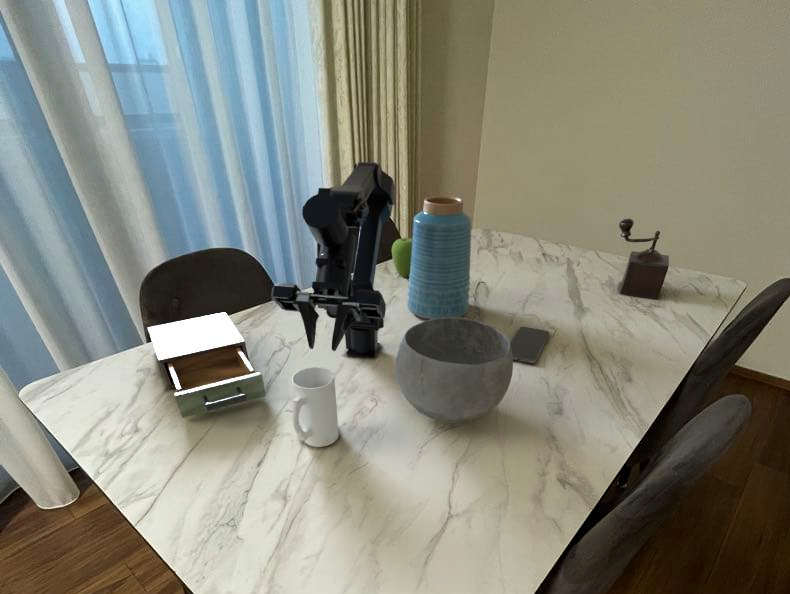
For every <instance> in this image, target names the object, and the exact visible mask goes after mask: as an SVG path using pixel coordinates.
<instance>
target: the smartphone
mask: <svg viewBox="0 0 790 594" xmlns="http://www.w3.org/2000/svg"><path fill="white" fill-rule="evenodd" d="M549 335H550V331H549V330H546V329H540V328H535V327H530V326H524V325H522V326H519V327H518V329H517V331H516V333H515V334H514V336H513V337H512V339H511V341H510V345H511V350H512V355H513V361H517V362H522V363H527V364H535V363H537V360H538V358H539V356H540V354H541V352H542V349H543V348H544V345H545V344H546V341H547V340H548V339H549V338H548V337H549Z"/></svg>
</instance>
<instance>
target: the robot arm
mask: <svg viewBox="0 0 790 594" xmlns="http://www.w3.org/2000/svg"><path fill="white" fill-rule="evenodd" d="M396 201H397V189H396V185H395V182H394V179H393V177H392V176H390V175H389V174H388V173H386V172H385V171H384V170H383V168H382V166H381V164H379V163H377V162H373V161H372V162H370V161H369V162H368V161H359V162H357V163H354V166H353V170H352V172H351V173H350V174H349V176H347V178H346V179H345V181H344V182H343V183H342V184H341V185H336V186H330V187H318V189H317V194H315V195H312V196H311V197H310V198H308V199H307V200H306V202H305V203H304V205H302V210H301V211H302V212H301V213H302V214H301V215H302V218H303V220H304V222H305V224H306V225H307V228H308V229H309V231H310V233H311V235H312V237H313V238H314V241H316V243H317V244H318V245H319V246H320V247H319V254H318V257H316V258H315V262H314V263H315V266H316V267H317V268H316V275H315V279H314V281H312V282H311V288H312V290H313V292H308V291H302V290H301V289H300V288H299V286H298V284H297V283H285V282H283V283H282V282H277V283H275V284H274V286H272V288H271V293H270V299H272V301H274V303H275V304H276V305H277V306H278V307H279V308H280V309H281V310H283V311H285V312H297V313H299V314H300V317H301V319H302V322H303V325H304V332H305V335H306V339H307V343H308V348H309V349H310V350H313V349H314V348H315V343H316V332H317V322H318V320H319V317H320V315H319V313H318V312H317V310H316V307H317V308H318V309H322V310H324V311H326V315H327V317H329V318H331V319H334V325H333V331H332V336H331V337H332V338H331V351H332V352H336V351H337V349H338V347H339V345H340V343H341V342H342V340H343V339H344V340H345V341H344V342H345V349H346V350H347V351H346V354H345V355H346V356H349V357H361V358H372V359H373V358H375V357H376V355H377V352H378V351H379V348H380V346H381V344H380V342H379V335H378V333H379V330H380V329H383V328H384V326H385V318H386V310H387V305H386V301H385V299H384V297H383V294H382V292H380V290H375V289H374V282H375V276H376V270H377V263H378V262H377V261H378V255H379V249H380V243H381V242H380V241H381V237H382V236H381V234H382V228H383V225H384V224H385V223H386V222H387V221H388V220H389V219H390V218H391V216H392V212H393V206H395V205H396ZM349 228H356V229H357V228H358V229H359V234H358V238H356V236H355V234H354V232H353V231H352V230H351V229H349ZM357 239H358V241H356V240H357ZM356 242H357V246H356ZM355 251H356V252H355ZM354 254H355V260H354ZM353 260H354V266H353ZM352 268H353V272H352Z"/></svg>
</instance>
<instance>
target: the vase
mask: <svg viewBox="0 0 790 594" xmlns="http://www.w3.org/2000/svg"><path fill="white" fill-rule="evenodd" d="M412 220H413V221H412V222H413V225H412V236H411V237H412V238H411V239H412V251H411V264H410V265H411V266H410V274H409V276H408V277H409V278H408V286H407V287H408V293H407V302H406V304H407V305H406V306H407V308H408V309H407V310H408V311H409V312H411V313H412V314H413V315H415V316H416V317H418V318H421V319H423V320H426V321H427V320H431V319H434V318H441V317H459V318H461V317H463V316H464V315H466V313H467V312H468V311H469V308H470V301H469V300H470V290H471V289H470V287H471V286H470V285H471V280H470V279H471V274H470V273H471V253H472V252H471V251H472V249H471V248H472V226H473V225H472V223H473V219H472V217H471V216H470V215H469V214H467V213H466V212H465V211H464V200H463V199H462V198H460V197H457V196H449V195H432V196H429V197H425V198H424V200H423V210H421V211H420V212H418V213H417V214H415V215H414V217H413V219H412Z"/></svg>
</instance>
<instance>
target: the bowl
mask: <svg viewBox="0 0 790 594" xmlns="http://www.w3.org/2000/svg"><path fill="white" fill-rule="evenodd" d="M510 343H511V341H510V340H509V338H508V337H507V336H506V335H505V334H504V333H502V332H501V331H499V330H498V329H497V328H496V327H494V326H493V325H490V324H488V323H485V322H481V321H479V320H477V319H473V318H468V317H441V318H434V319H431V320H427V319H426V320H425V321H422V322H419V323H417V324H415V325H412V326H411V327H409V329H407V330H406V331H405V334H404V335H403V337H402V339H401V340H400V344H399V347H398V350H397V353H396V358H395V374H396V375H395V376H396V381H397V384H398V387H399V390H400V392H401V393H402V395H403V397H404V398H405V399H406V401H407V402H408V403H409V404H410V405H411V406H412V407H413V408H414V409H415V410H416V411H417V412H419V413H420V414H422V415H424V416H426V417H428V418H430V419H432V420H436V421H438V422H439V421H440V422H442V423H448V424H449V423H450V424H463V423H468V422H471V421H475V420H477V419H479V418H481V417H483V416H485V415H487V414H489V413H490V412H492V411H493V410H494V409H495V408H497V406H498V405H499V404H500V403H501V402H502V400H503V399H504V397H505V396H506V394H507V392H508V390H509V387H510V384H511V380H512V378H513V370H514V360H513V355H512V350H511V345H510Z"/></svg>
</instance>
